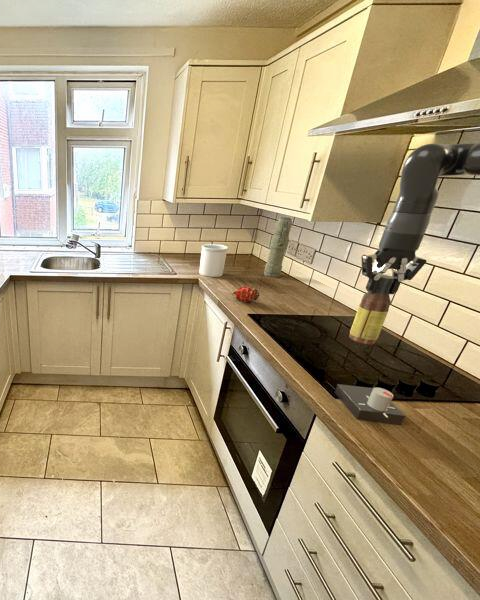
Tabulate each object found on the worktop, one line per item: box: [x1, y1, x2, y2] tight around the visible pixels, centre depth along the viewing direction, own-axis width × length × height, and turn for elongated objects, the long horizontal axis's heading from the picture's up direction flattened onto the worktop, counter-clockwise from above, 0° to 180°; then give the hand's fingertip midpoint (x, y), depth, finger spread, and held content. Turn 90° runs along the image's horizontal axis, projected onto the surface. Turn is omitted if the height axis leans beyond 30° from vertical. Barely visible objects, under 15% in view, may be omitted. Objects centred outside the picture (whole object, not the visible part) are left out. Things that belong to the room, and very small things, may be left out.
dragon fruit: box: [232, 285, 260, 304], centre depth 155 cm, size 8×8×12 cm
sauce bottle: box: [348, 274, 395, 346], centre depth 89 cm, size 7×6×20 cm
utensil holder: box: [198, 243, 229, 278], centre depth 195 cm, size 15×15×18 cm
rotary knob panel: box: [334, 383, 406, 426], centre depth 85 cm, size 10×13×3 cm
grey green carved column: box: [263, 216, 293, 279], centre depth 189 cm, size 9×12×35 cm
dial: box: [367, 386, 394, 412], centre depth 82 cm, size 4×4×5 cm
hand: (380, 292), depth 87 cm, fingers closed on sauce bottle, 4 cm apart
